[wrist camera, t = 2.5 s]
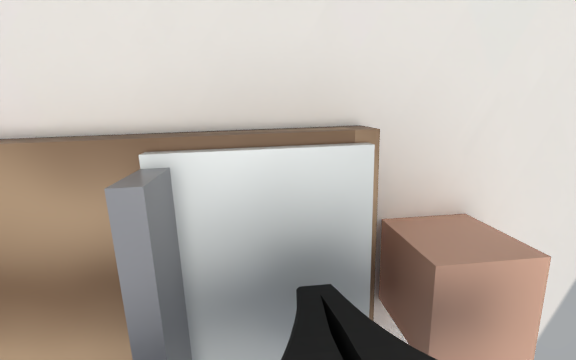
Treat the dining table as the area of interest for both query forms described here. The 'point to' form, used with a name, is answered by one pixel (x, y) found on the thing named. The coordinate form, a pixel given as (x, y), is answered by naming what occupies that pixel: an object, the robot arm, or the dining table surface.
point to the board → (94, 233)
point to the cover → (238, 244)
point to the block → (462, 287)
